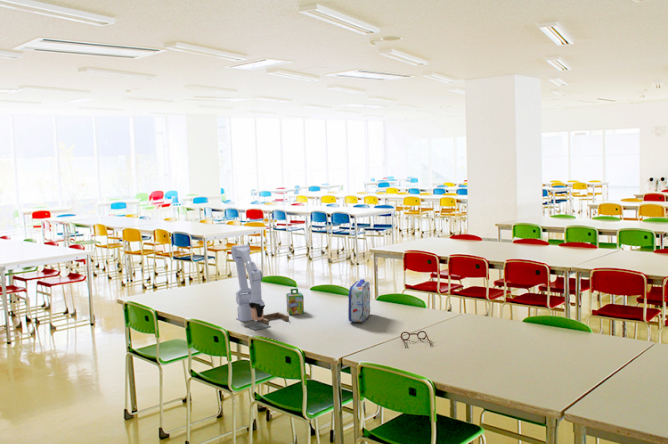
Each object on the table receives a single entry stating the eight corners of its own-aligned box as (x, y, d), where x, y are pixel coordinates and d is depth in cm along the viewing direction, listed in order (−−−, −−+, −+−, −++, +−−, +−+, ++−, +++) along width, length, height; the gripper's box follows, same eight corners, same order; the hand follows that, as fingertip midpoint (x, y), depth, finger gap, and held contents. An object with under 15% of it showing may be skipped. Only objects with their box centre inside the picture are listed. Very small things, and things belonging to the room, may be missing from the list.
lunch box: (354, 312, 349) (353, 276, 346) (372, 312, 346) (371, 276, 344) (346, 324, 322) (345, 286, 320) (365, 325, 320) (364, 286, 318)
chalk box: (289, 315, 347) (288, 291, 345) (286, 311, 355) (285, 288, 354) (304, 313, 349) (303, 289, 348) (301, 310, 358) (300, 286, 356)
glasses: (426, 339, 291) (426, 330, 291) (431, 347, 278) (431, 337, 278) (400, 341, 291) (400, 331, 290) (404, 349, 278) (404, 339, 277)
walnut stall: (257, 321, 335) (256, 316, 335) (278, 317, 343) (278, 312, 343) (267, 325, 325) (266, 320, 325) (289, 321, 334) (288, 316, 333)
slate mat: (244, 326, 326) (244, 325, 326) (260, 322, 332) (260, 321, 332) (254, 330, 317) (254, 329, 316) (270, 327, 322) (270, 326, 322)
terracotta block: (251, 318, 324) (251, 308, 324) (259, 317, 327) (259, 306, 327) (255, 320, 320) (255, 309, 320) (263, 319, 323) (263, 308, 323)
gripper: (243, 291, 326) (245, 314, 327) (255, 295, 314) (256, 320, 315) (255, 289, 330) (256, 312, 331) (267, 293, 318) (268, 317, 319)
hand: (257, 316), depth 324 cm, fingers closed on terracotta block, 5 cm apart
